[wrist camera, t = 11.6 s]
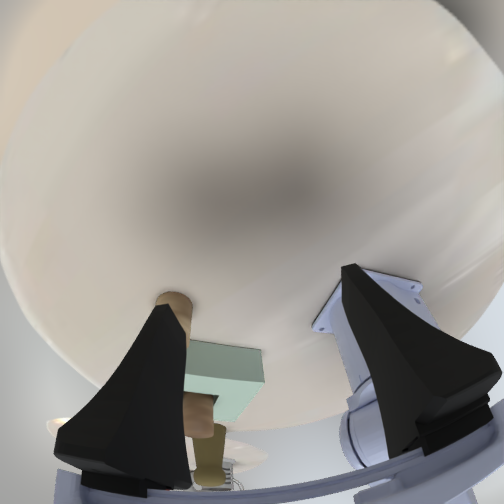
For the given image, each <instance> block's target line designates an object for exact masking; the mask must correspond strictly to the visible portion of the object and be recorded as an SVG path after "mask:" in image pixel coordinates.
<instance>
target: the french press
mask: <svg viewBox="0 0 504 504" xmlns="http://www.w3.org/2000/svg"><path fill="white" fill-rule="evenodd" d="M235 462H236V461H235V460H233V459H229V458H223V464H222V469H223V470H224V472H225V474H226V481H225V483H224V484H223V485H221V486H216V487H206V486H202V490H207V491H230V490H231V489H234V486H233V482H235V481H233V479H234V478H233V468H232V465H233V464H234V463H235ZM230 468H231V470H230ZM231 472H232V474H230V473H231ZM231 477H232V479H231ZM234 480H235V479H234ZM231 481H232V484H231ZM236 481H238V480H236ZM238 482H239V481H238ZM235 483H236V482H235ZM239 483H240V482H239ZM236 484H238V483H236ZM240 484H241V483H240ZM241 485H242V484H241ZM238 486H239V484H238ZM239 488H240V486H239ZM242 488H243V485H242ZM243 490H244V488H243ZM240 491H241V488H240Z"/></svg>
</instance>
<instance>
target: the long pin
mask: <svg viewBox="0 0 504 504" xmlns="http://www.w3.org/2000/svg"><path fill="white" fill-rule="evenodd" d="M183 421H184V434H185V436H187V437H191V438H209V437H212V436H213V435H214V420H213V395H211V394H203V393H195V392H188V391H184V393H183Z"/></svg>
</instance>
